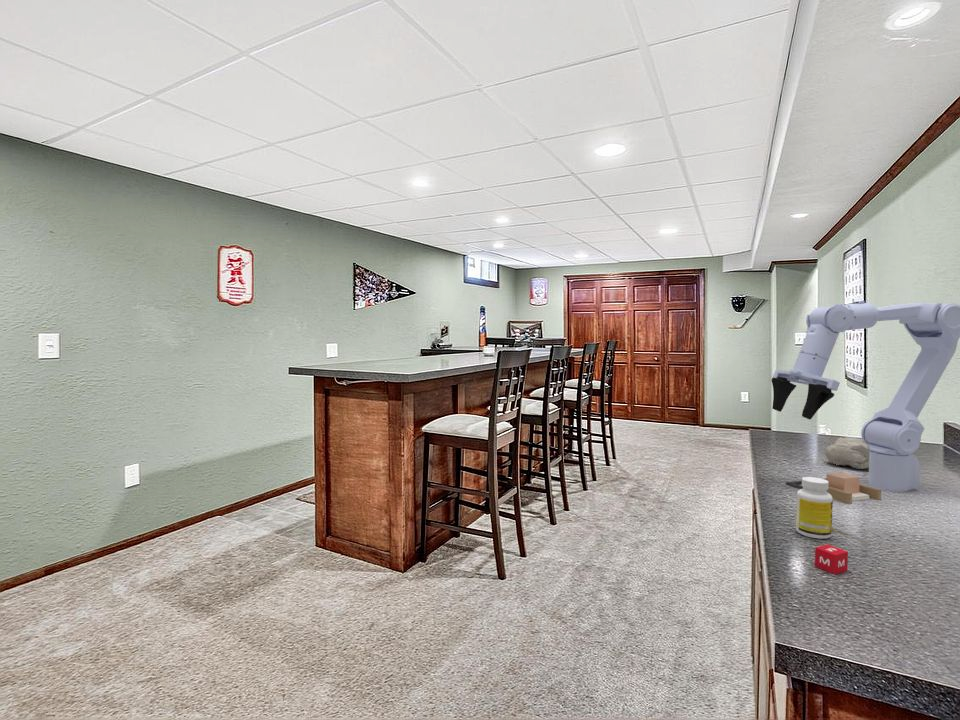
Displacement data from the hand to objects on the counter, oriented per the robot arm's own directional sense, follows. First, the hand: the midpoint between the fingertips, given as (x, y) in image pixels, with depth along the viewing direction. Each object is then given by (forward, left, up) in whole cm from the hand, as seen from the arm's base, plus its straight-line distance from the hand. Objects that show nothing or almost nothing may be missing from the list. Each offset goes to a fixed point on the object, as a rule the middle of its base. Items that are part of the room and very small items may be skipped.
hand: (790, 414), depth 113 cm
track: (-7, +10, -18) cm, 22 cm away
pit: (-7, 0, -18) cm, 19 cm away
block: (-7, +7, -16) cm, 19 cm away
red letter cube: (+27, +30, -18) cm, 44 cm away
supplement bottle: (+17, +19, -18) cm, 31 cm away
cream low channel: (-7, +7, -17) cm, 20 cm away
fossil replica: (-36, -13, -18) cm, 43 cm away
